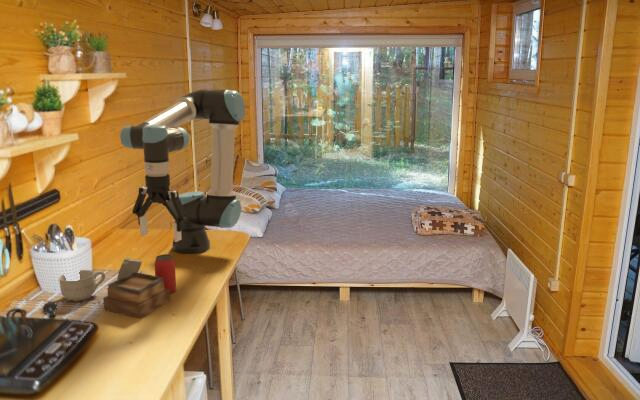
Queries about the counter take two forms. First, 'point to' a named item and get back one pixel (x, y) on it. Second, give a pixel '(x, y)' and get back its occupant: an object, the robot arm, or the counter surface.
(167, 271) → the beer can
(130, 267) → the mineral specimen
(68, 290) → the teacup
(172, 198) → the robot arm
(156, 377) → the counter surface
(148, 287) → the tower base
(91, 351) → the counter surface
